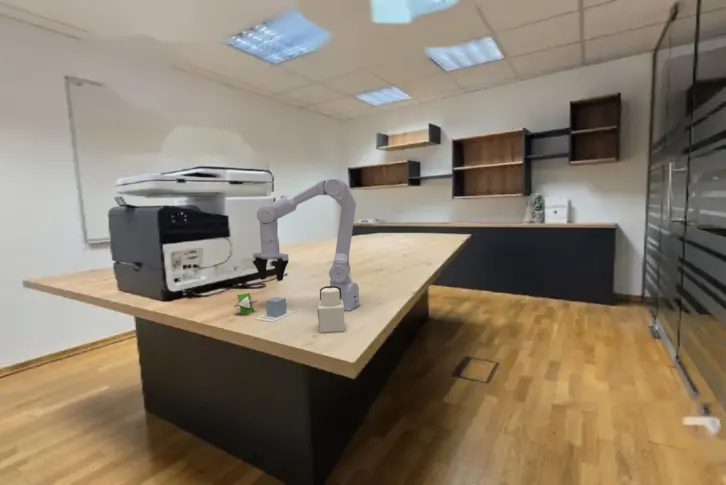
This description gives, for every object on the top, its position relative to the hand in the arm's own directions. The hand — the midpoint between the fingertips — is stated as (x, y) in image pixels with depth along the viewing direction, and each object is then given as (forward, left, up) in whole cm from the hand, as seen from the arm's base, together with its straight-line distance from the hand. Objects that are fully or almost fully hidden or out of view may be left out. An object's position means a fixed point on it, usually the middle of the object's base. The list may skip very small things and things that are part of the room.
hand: (271, 279), depth 128 cm
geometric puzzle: (+4, +8, -10) cm, 14 cm away
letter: (-7, +6, -10) cm, 14 cm away
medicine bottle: (-31, +10, -10) cm, 34 cm away
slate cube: (-7, +6, -10) cm, 14 cm away
